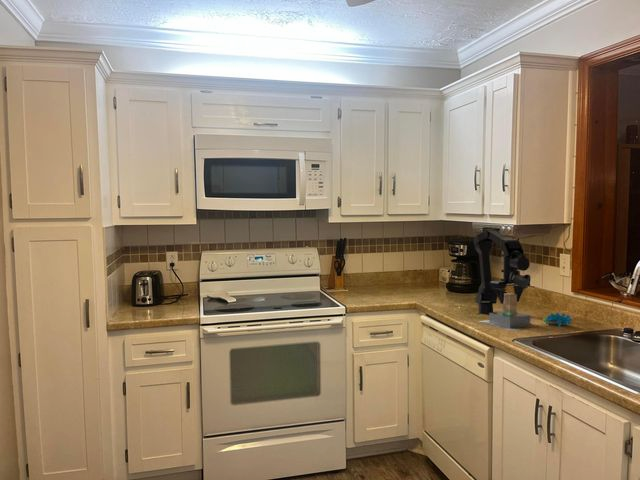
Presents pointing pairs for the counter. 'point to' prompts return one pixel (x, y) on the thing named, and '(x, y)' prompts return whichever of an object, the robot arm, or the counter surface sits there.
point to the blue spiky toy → (558, 319)
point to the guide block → (509, 319)
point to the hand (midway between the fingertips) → (509, 302)
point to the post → (510, 304)
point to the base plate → (505, 328)
